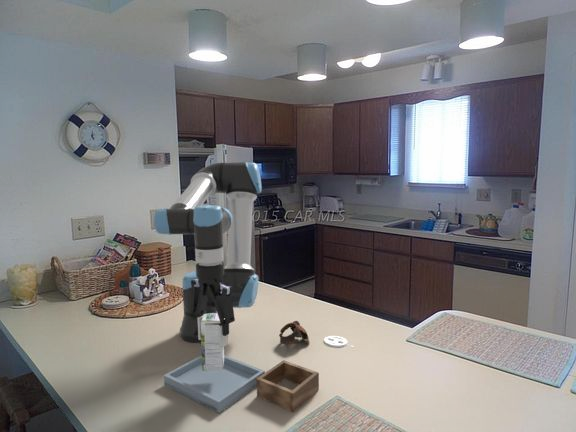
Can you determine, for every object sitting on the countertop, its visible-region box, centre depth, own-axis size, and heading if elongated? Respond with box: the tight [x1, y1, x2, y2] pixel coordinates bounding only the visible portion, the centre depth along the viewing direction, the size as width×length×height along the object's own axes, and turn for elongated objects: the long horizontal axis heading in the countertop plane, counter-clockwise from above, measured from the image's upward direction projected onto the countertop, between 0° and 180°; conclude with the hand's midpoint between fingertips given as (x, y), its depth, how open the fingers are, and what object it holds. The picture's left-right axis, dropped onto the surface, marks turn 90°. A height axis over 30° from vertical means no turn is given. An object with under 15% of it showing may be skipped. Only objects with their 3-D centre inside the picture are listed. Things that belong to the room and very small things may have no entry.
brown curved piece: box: [278, 320, 310, 346], centre depth 139 cm, size 12×10×8 cm
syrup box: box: [200, 313, 225, 371], centre depth 112 cm, size 6×6×14 cm
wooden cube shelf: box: [256, 359, 320, 413], centre depth 109 cm, size 12×12×5 cm
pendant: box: [323, 335, 355, 348], centre depth 138 cm, size 7×11×1 cm, turn 56°
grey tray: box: [163, 354, 266, 414], centre depth 114 cm, size 22×18×3 cm
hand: (213, 341), depth 112 cm, fingers closed on syrup box, 8 cm apart
